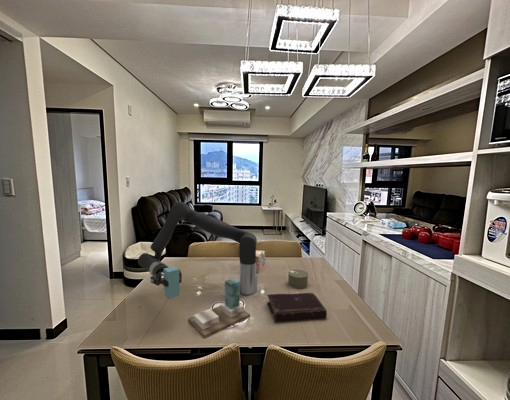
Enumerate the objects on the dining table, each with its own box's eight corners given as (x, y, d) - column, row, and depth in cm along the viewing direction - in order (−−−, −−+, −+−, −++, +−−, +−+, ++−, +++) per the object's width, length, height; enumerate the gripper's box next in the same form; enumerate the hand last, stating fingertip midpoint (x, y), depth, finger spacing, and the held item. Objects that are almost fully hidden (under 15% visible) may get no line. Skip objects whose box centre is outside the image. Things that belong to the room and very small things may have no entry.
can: (301, 290, 144) (301, 279, 144) (284, 284, 152) (284, 273, 151) (311, 283, 153) (311, 273, 153) (294, 278, 161) (294, 268, 160)
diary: (326, 320, 117) (327, 310, 116) (274, 324, 113) (275, 314, 112) (311, 299, 135) (312, 290, 134) (266, 302, 131) (266, 293, 130)
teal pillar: (175, 291, 114) (174, 265, 112) (179, 295, 110) (179, 269, 109) (164, 294, 110) (163, 268, 109) (168, 299, 107) (167, 272, 105)
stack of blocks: (256, 262, 189) (257, 246, 188) (265, 262, 188) (265, 247, 187) (249, 272, 169) (250, 255, 167) (258, 273, 167) (259, 256, 166)
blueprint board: (231, 303, 128) (231, 273, 127) (250, 316, 117) (250, 283, 115) (188, 321, 113) (187, 286, 111) (204, 337, 102) (204, 300, 100)
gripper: (144, 266, 115) (157, 279, 102) (174, 260, 124) (189, 270, 112) (144, 282, 116) (157, 296, 103) (174, 274, 125) (189, 286, 113)
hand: (174, 282), depth 108 cm, fingers closed on teal pillar, 5 cm apart
